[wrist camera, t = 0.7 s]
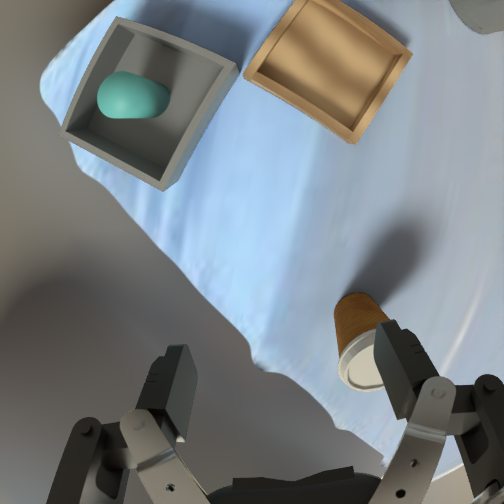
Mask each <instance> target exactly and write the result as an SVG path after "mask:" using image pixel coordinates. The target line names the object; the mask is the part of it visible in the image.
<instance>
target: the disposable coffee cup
mask: <svg viewBox="0 0 504 504" xmlns="http://www.w3.org/2000/svg"><path fill="white" fill-rule="evenodd" d="M334 320H335V327H336V335H337V343H338V351H339V362H338V374H339V376H340V378H341V380H342V381H344V382H345V383H346V385H348V386H349V387H350V388H351V389H353V390H356V391H362V392H370V391H375V390H379V389H382V388H384V387H385V386H384V384H383V381H382V379H381V376H380V374H379V371H378V369H377V366H376V364H375V361H374V355H373V348H374V341H375V333H376V325H377V323H378V322H382V321H388V320H390V319H389V318H388V317H387V316H386V314H385V313H384V312H383V311H382V310H381V308H380V307H379V306H378V305H377V304H376V303H375V301H374V300H373V299H372V298H371V297H370V296H369V295H367V294H365V293H352V294H349V295H347V296H345V297H344V298H342V299H341V300H340V301H339V302H338V304H337V305H336V307H335V310H334Z"/></svg>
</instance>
